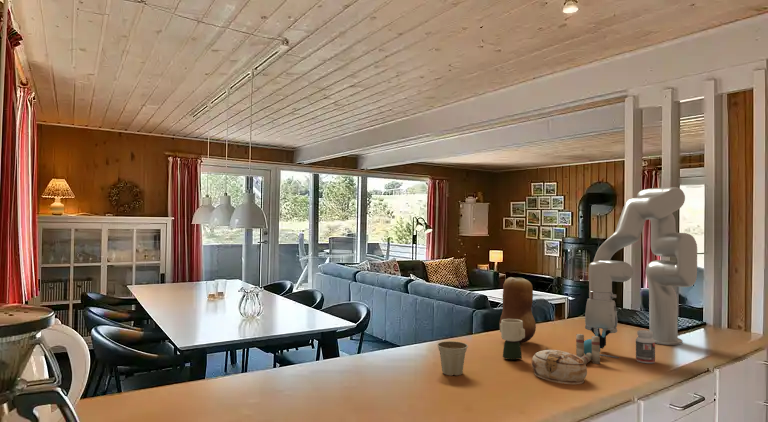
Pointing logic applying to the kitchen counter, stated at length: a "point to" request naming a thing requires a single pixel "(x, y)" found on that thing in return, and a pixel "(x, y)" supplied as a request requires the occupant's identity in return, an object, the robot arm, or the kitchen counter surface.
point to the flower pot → (452, 357)
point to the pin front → (587, 357)
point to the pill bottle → (645, 347)
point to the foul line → (609, 356)
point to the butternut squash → (519, 304)
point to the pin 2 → (595, 350)
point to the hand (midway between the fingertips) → (601, 347)
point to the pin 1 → (579, 345)
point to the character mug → (512, 337)
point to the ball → (588, 346)
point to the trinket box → (559, 367)
